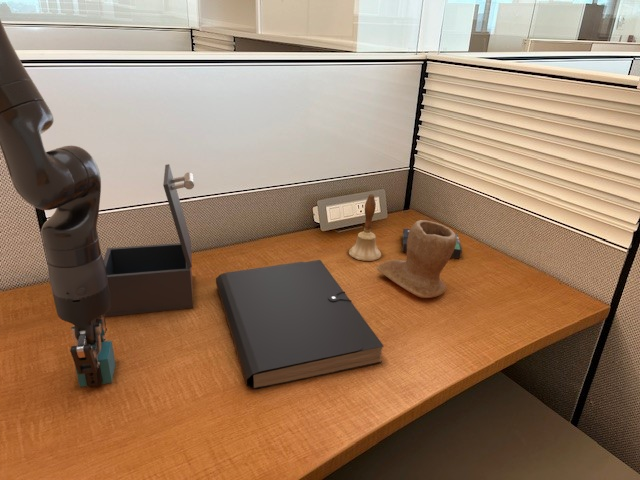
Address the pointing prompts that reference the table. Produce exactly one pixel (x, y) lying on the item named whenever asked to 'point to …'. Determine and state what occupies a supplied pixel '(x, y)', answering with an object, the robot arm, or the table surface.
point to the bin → (148, 279)
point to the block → (102, 364)
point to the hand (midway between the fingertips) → (97, 373)
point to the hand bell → (366, 237)
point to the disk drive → (455, 253)
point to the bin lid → (179, 208)
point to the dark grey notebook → (294, 324)
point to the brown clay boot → (422, 259)
